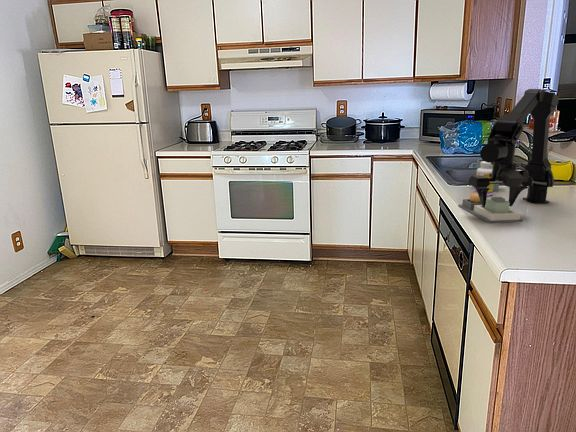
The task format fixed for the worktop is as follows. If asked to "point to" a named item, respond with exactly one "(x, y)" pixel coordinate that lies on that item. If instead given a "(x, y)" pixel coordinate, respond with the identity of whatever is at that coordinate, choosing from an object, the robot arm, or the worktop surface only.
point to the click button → (474, 198)
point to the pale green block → (497, 205)
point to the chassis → (488, 216)
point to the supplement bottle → (486, 175)
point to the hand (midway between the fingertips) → (497, 206)
